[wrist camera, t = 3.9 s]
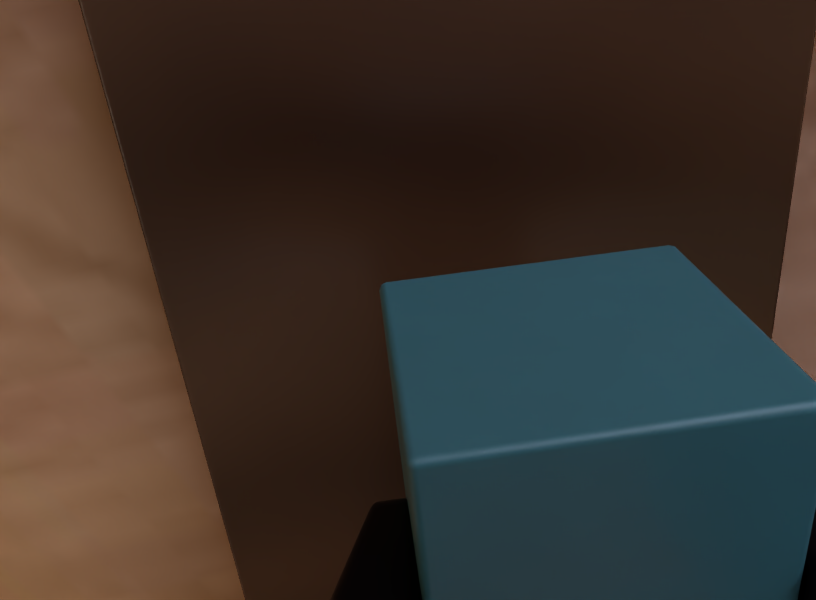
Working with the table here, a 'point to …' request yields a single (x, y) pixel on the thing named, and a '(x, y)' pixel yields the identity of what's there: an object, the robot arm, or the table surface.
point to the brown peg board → (418, 200)
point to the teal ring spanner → (598, 434)
